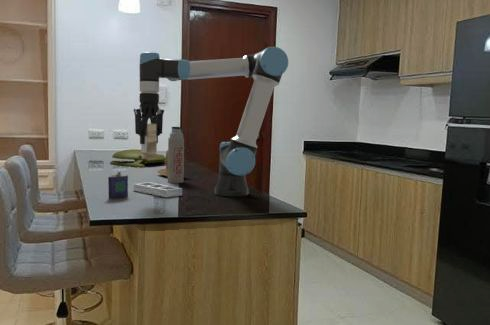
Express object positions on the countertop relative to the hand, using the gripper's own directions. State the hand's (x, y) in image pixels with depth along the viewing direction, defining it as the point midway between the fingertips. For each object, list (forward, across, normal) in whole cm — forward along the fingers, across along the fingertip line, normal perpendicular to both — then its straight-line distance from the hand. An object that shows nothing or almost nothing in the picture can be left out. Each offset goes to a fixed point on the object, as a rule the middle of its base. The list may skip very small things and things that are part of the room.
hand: (149, 152), depth 184 cm
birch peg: (+3, 0, 0) cm, 3 cm away
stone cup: (+20, -52, -46) cm, 72 cm away
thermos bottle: (+20, -41, -30) cm, 54 cm away
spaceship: (+20, -74, -105) cm, 130 cm away
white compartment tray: (+19, -13, -10) cm, 25 cm away
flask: (+19, +6, -11) cm, 23 cm away
